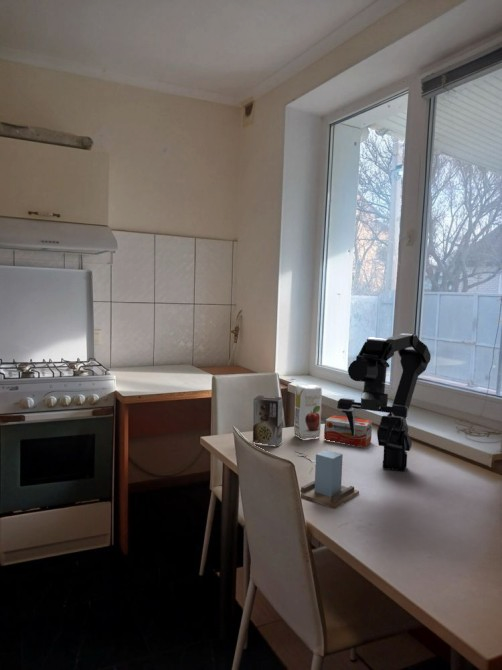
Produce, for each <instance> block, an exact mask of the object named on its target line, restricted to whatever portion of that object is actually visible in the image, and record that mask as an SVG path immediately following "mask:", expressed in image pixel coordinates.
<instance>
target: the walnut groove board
mask: <svg viewBox="0 0 502 670" xmlns="http://www.w3.org/2000/svg"><path fill="white" fill-rule="evenodd" d="M314 490H315V480H313V481H311V482H309V483H307V484H305V485H303V486H301V487H300V492H301V497H300V498H303V499H305V498H306V500H308V499H309V501H312V502H314V503H318V504H320V505H323V506H327V507H329V508H333V509H337V508H338V507H340V506H341V505H343V504H345V503H346V502H348V501H349V500H351V499H353V498H354V497H356V496H357V495H359V494H360V490H357V489H355V486H353V485H350V486H345V485H341V492H339V493H337V494H336V495H334V496H332V497H329V496H326V495H323V494H320V493H317V492H314Z"/></svg>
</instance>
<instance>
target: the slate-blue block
mask: <svg viewBox="0 0 502 670" xmlns="http://www.w3.org/2000/svg"><path fill="white" fill-rule="evenodd" d="M315 460H316V465H315V467H314V468H315V469H314V470H315V471H314V481H315V490H314V492H317V493H320V494H323V495H326V496H329V497H332V496H334V495H336V494H337V493H339V492H341V486H342V479H343V478H342V476H343V453H339V452H336V451H332V450H328V449H325V450H322V451H319V452H317V453H316V454H315Z"/></svg>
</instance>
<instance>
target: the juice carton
mask: <svg viewBox="0 0 502 670" xmlns="http://www.w3.org/2000/svg"><path fill="white" fill-rule="evenodd" d="M322 391H323V390H322V387H321V386H319V385H316V384H305V385H302V384H296V387H295V392H294V393H295V394H294V397H295V398H294V416H293V417H294V421H293V424H294V425H293V433H294V436H295V435H297V436H299V437H300V438H302V439H306V438H316V437H319V438H320V437H321V436H320V435H321V423H322V422H321V421H322V402H323V400H322V399H323V396H322V395H323V393H322Z"/></svg>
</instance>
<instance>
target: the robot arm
mask: <svg viewBox="0 0 502 670" xmlns="http://www.w3.org/2000/svg"><path fill="white" fill-rule="evenodd" d="M396 352H397V353H398V355H399V357H400V361H399V362H400V366H401V367H402V368H401V369H402V373H401V375H400V379H399V383H398V386H397V390H396V393H395V395H394V399H393V402H392V405H391V406H389V405H388V400H389V394H388V393H385V392H386V390H385V389H386V379H387V378H386V377H387V369H388V368H390V364H389V362H388V361H389V359H391V358H392V357H394V356H395V353H396ZM355 357H356V358H355V360H353V361H352V362H351V363H350V364H349V366H348V368H347V370H348V371H347V372H348V373H347V374H348V376H349V378H350V379H351V380H352V381H354V382H361V383H362V382H363V390H362V393H361V397H360V402H358V401H355V399H351V398H345V397H344V398H343V397H342V398H339V399H338V401H337V407H336V408H337V409H340V410H341V413H344V414H345V417H347V418H348V421H349V424H350V429H351V433H352V436H354V433H355V418H356V410H354V409H357V410H362V411H363V410H365V411H372V412H380V413H381V412H382V413H388V414H387V415H382V417H381V419H380V423H379V425H378V428H377V431H376V436H377V442H378V443H377V444H378V446H380V447H383V458H382V470H383V469H385V470H392V471H401V472H402V471H403V472H405V471H406V468H408V467H407V466H408V465H407V463H408V452H410V451H411V448H412V445H413V444H412V443H413V441H412V439H411V437H410V435H409V433H408V432H409V427H408V423H407V417H408V413H409V408H410V405H411V403H412V402H411V401H412V398H413V394H414V391H415V388H416V386H417V381H418V378H419V376H420V375H422V374H423V373H424V372H425V371H426V370H427V367H428V366H429V363H430V362H431V360H432V359H431V352H430V350H429V348H428V346H427V344H425V343H424V342H423V341H422V340H420V339H419V337H418V335H416V334H415V333H407V332H405V333H403V332H402V333H399V334H397V335H393V336H389V337H386V338H385V337H384V338H383V337H373V336H371V337H368V338H367V339H366V341H365V342H364V343H363V345H362V347H361V349H360V350H359V352H358V354H357V355H356V356H355Z"/></svg>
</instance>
